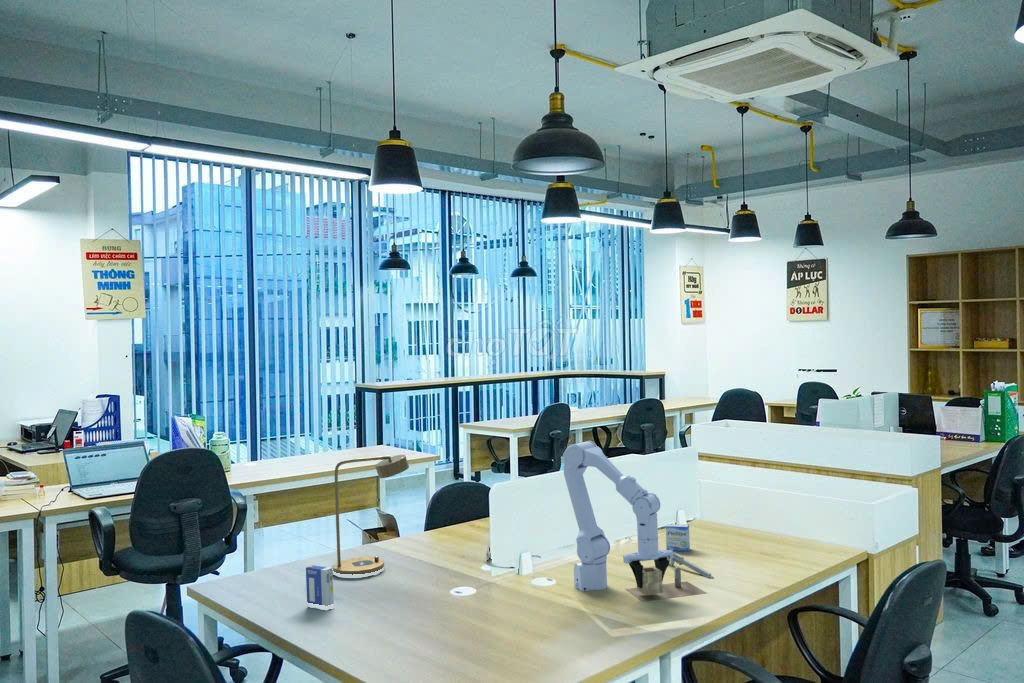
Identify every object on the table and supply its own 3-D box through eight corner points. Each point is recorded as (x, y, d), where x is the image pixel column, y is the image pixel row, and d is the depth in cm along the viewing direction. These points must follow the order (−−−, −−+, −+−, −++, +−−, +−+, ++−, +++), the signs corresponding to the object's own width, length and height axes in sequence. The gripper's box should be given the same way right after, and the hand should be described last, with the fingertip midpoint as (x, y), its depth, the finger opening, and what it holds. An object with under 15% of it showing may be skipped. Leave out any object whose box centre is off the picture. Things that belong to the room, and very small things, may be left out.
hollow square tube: (645, 594, 215) (644, 573, 215) (636, 589, 220) (636, 568, 220) (662, 592, 216) (661, 571, 216) (654, 587, 221) (653, 566, 221)
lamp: (418, 570, 259) (414, 456, 259) (337, 582, 248) (333, 463, 249) (405, 558, 275) (401, 451, 275) (328, 569, 264) (324, 458, 265)
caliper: (666, 565, 254) (665, 546, 254) (668, 564, 255) (667, 545, 255) (711, 579, 237) (711, 559, 237) (714, 579, 237) (713, 558, 237)
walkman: (307, 607, 224) (305, 566, 224) (313, 605, 226) (312, 563, 226) (327, 611, 220) (325, 569, 220) (334, 608, 222) (332, 566, 222)
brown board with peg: (642, 607, 213) (641, 580, 213) (625, 594, 225) (624, 568, 225) (707, 598, 219) (706, 572, 219) (687, 586, 230) (686, 561, 230)
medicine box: (666, 551, 271) (665, 526, 271) (667, 547, 275) (666, 523, 276) (689, 551, 269) (688, 526, 269) (690, 548, 273) (689, 524, 273)
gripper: (629, 543, 212) (631, 593, 212) (677, 538, 216) (679, 587, 216) (619, 537, 219) (621, 585, 219) (666, 532, 223) (668, 580, 223)
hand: (649, 585), depth 218 cm, fingers closed on hollow square tube, 5 cm apart
